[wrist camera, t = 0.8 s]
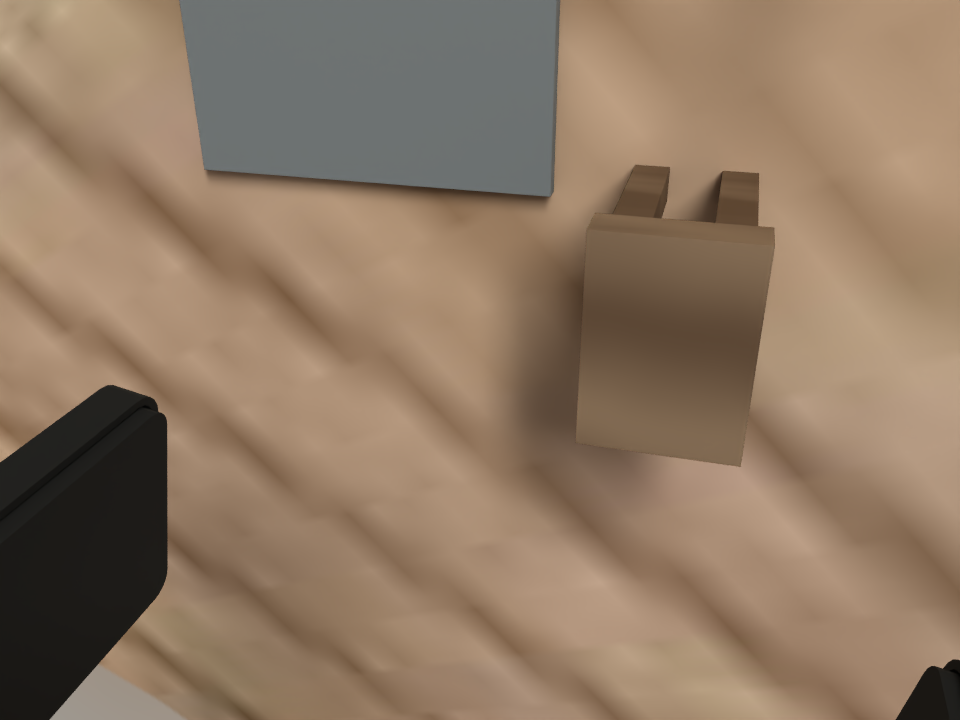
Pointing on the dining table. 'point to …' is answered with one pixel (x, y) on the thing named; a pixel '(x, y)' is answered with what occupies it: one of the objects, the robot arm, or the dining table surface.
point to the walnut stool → (673, 322)
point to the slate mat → (378, 90)
